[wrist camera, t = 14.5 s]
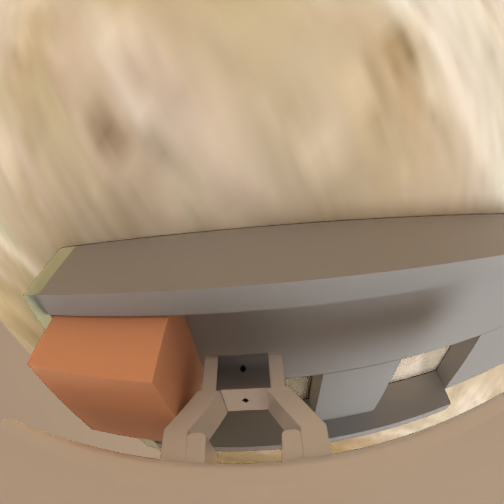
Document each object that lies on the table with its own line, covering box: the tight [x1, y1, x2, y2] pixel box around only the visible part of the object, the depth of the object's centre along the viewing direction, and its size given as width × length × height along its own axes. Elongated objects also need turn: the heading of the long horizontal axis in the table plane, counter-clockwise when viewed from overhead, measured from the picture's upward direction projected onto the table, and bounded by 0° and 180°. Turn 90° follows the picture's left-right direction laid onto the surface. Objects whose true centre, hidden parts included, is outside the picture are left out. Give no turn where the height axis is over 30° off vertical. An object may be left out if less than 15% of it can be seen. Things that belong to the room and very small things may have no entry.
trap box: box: [23, 214, 504, 451], centre depth 13 cm, size 15×31×4 cm, turn 95°
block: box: [28, 315, 203, 441], centre depth 10 cm, size 5×5×4 cm
